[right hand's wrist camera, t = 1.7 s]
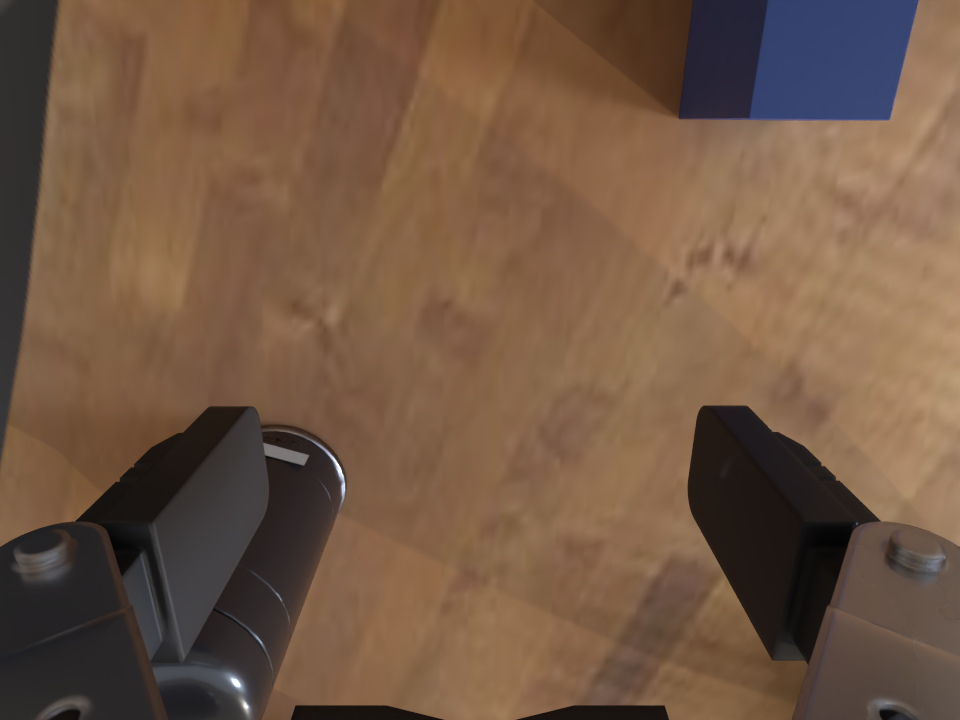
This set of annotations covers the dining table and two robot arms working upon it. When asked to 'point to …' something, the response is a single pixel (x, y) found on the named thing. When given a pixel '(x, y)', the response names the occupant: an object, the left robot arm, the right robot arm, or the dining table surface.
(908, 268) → the dining table surface
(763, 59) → the box
